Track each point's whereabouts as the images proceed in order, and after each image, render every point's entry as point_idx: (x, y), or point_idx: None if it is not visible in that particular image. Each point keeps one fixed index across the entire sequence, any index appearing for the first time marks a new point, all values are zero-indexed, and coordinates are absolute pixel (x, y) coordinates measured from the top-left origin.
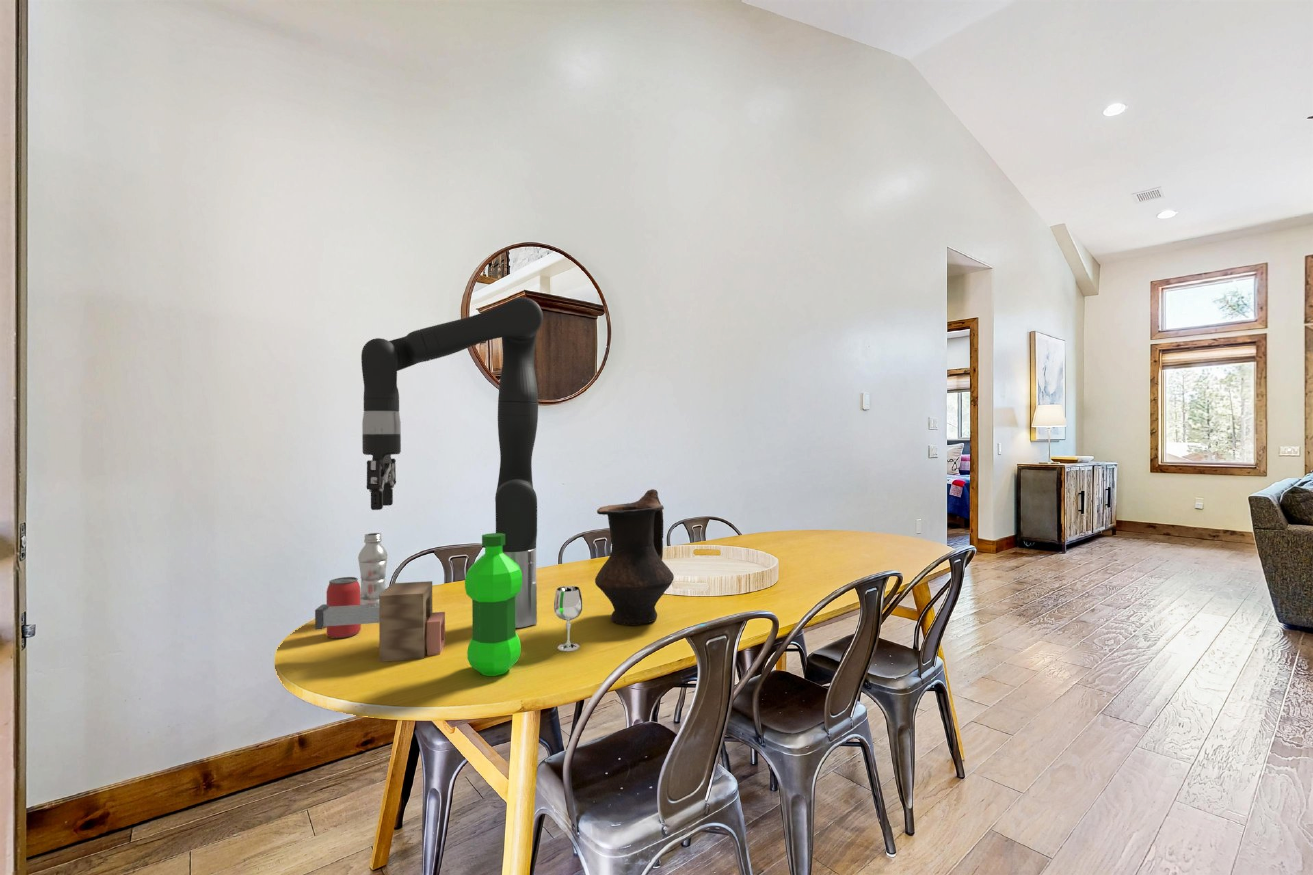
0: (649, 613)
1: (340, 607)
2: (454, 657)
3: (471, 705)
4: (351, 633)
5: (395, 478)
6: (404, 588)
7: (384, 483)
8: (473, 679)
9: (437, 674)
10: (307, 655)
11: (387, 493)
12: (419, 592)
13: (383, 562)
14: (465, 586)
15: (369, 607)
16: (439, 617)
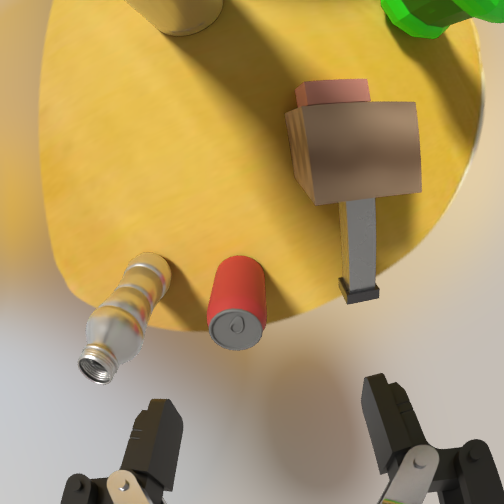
0: None
1: (359, 269)
2: (360, 62)
3: (477, 44)
4: (254, 260)
5: (66, 499)
6: (370, 155)
7: (383, 501)
8: None
9: (416, 78)
10: (329, 280)
11: (163, 459)
12: (408, 111)
13: (119, 305)
14: (502, 22)
15: (370, 216)
16: (342, 83)
